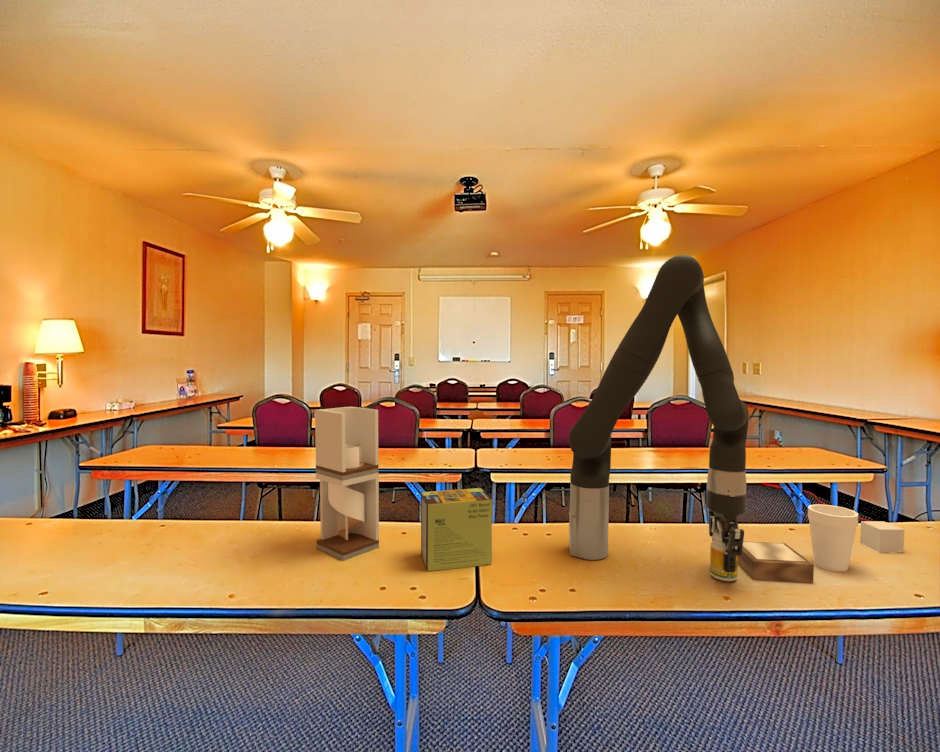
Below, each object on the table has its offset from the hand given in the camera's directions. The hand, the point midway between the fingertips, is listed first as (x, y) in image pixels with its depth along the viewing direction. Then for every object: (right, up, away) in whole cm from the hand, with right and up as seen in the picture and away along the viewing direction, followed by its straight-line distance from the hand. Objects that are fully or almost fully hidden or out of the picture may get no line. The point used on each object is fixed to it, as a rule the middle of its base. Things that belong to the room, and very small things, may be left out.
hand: (723, 565), depth 107 cm
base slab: (+13, -3, +4) cm, 14 cm away
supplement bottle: (0, -3, 0) cm, 3 cm away
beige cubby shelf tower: (-86, -2, +16) cm, 88 cm away
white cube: (+49, -3, +17) cm, 52 cm away
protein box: (-59, -3, +10) cm, 60 cm away
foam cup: (+28, -3, +7) cm, 29 cm away
